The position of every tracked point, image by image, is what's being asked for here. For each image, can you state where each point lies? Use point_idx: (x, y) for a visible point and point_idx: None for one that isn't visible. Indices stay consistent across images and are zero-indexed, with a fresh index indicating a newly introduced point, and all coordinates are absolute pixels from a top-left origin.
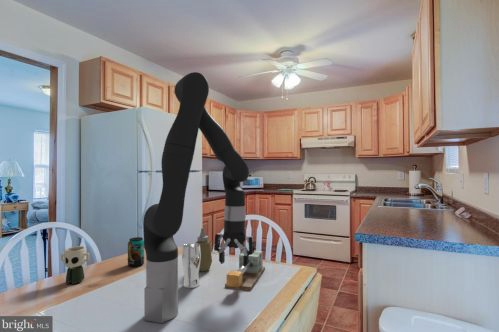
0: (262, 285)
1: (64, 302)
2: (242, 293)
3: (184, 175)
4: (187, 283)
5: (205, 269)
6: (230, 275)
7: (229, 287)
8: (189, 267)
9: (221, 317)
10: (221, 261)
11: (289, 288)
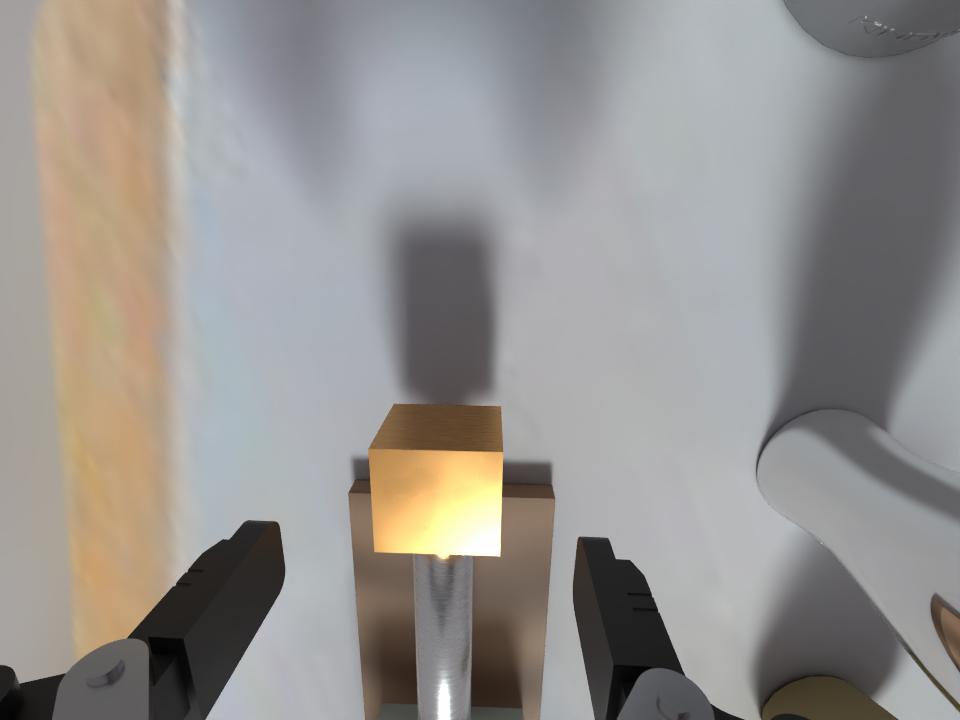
0: (308, 568)
1: None
2: None
3: None
4: (861, 426)
5: (789, 698)
6: (460, 447)
7: (517, 486)
8: None
9: (407, 22)
10: (596, 553)
11: (126, 565)
